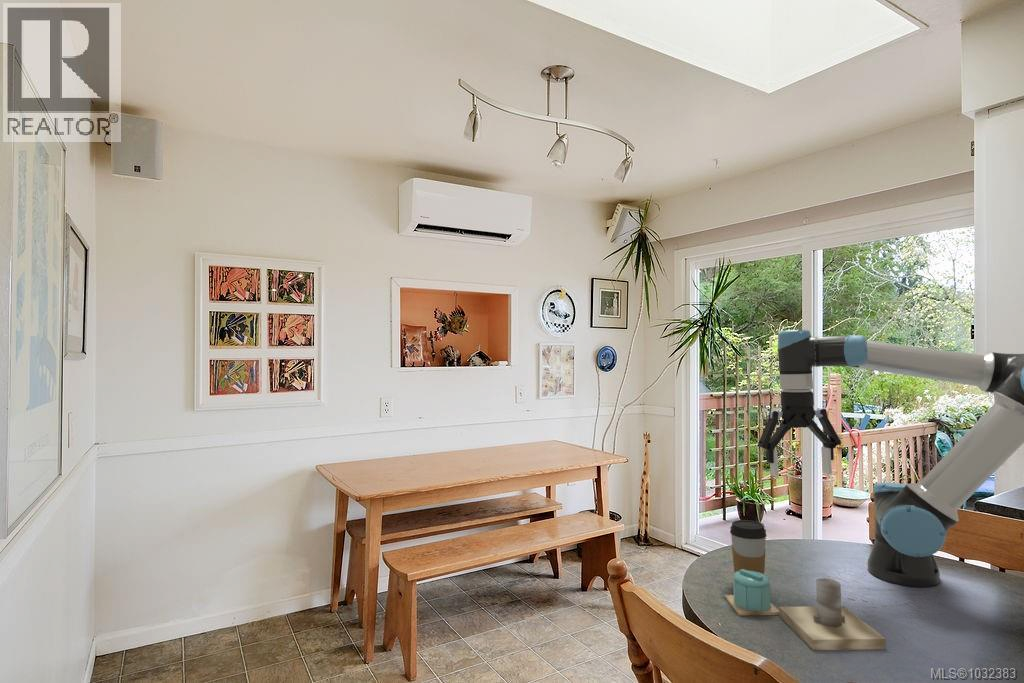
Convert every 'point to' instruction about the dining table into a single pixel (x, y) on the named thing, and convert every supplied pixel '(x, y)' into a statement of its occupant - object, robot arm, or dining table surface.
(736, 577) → the cap
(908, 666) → the dining table surface
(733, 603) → the coaster
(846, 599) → the dining table surface
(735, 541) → the coffee cup
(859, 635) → the post base
